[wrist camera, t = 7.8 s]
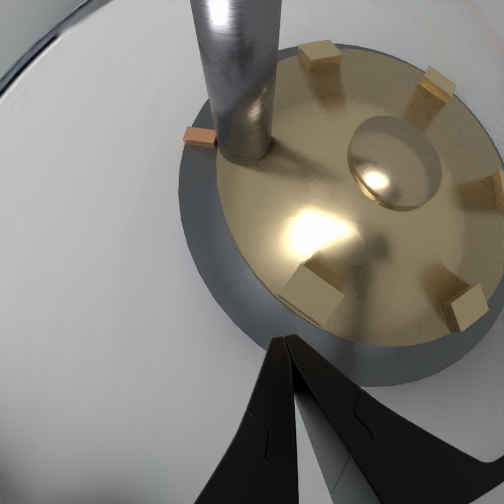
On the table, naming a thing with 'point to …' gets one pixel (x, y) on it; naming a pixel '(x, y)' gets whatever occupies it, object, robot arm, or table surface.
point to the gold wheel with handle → (351, 181)
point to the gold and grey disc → (271, 310)
